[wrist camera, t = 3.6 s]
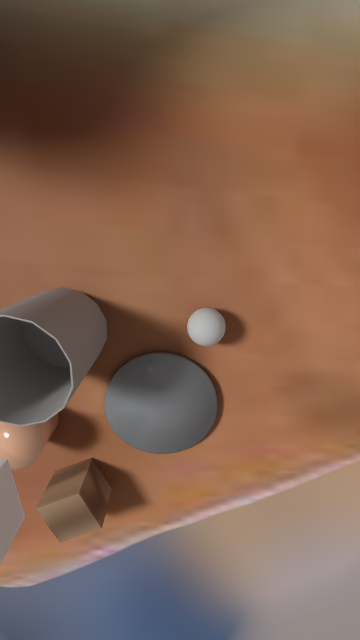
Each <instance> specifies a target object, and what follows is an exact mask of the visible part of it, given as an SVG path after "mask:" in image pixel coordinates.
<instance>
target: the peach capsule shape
mask: <svg viewBox="0 0 360 640" xmlns="http://www.w3.org/2000/svg"><path fill="white" fill-rule="evenodd" d="M58 422H59V415H58V413H57V414H55V415H54V416H53V417H51V418H50V419H49V420H47V421H46V422H43V423H37V424H32V425H26V426H21V427H20V426H15V425H11V424H6V423H1V422H0V459H8V461H9V464H10V468H11V469H23V468H26V467H28V466H30V465H31V464H33V463H34V461H35V460H36V459H37V457H38V455H39V454H40V452H41V451H42V449H43V448H44V446H45V444H46V443H47V441H48V440H49V438H50V437H51V435H52V433H53V432H54V430H55V429H56V427H57V425H58Z"/></svg>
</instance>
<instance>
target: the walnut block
mask: <svg viewBox="0 0 360 640" xmlns="http://www.w3.org/2000/svg"><path fill="white" fill-rule="evenodd" d="M111 492H112V488H111V487H110V485H109V483H108V482H107V480H106V478H105V477H104V475H103V474H102V472H101V470H100V469H99V467H98V466H97V464H96V462H95V461H94V459H93V458H90V459H88V460H85V461H82V462H79V463H77V464H74V465H71V466H69V467H66V468H63V469H60V470H58V471H55V473H54V474H53V476H52V478H51V480H50V482H49V484H48V486H47V488H46V490H45V492H44V494H43V495H42V497H41V499H40V501H39V503H38V505H37V507H36V510H37V512H38V513H39V514H40V516H41V517H42V518H43V520H44V521H45V523H46V524H47V525H48V527H49V528H50V529H51V531H52V532H53V533H54V535H55V536H56V538H57V539H58V540H59V542H63V541H66V540H69V539H72V538H75V537H78V536H81V535H84V534H87V533H90V532H93V531H96V530H99V529H102V526H103V522H104V518H105V514H106V511H107V507H108V503H109V499H110V496H111Z"/></svg>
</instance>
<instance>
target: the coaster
mask: <svg viewBox="0 0 360 640" xmlns="http://www.w3.org/2000/svg"><path fill="white" fill-rule="evenodd" d="M104 404H105V412H106V416H107V419H108V422H109V424H110V426H111V427H112V429H113V430H114V432H115V433H116V434H117V435H118V436H119V437H120V438H121V439H122V440H123V441H124V442H126V443H127V444H129V445H130V446H132V447H134V448H136V449H139V450H141V451H144V452H149V453H155V454H170V453H176V452H180V451H183V450H186V449H188V448H190V447H192V446H193V445H195V444H197V443H198V442H199V441H200V440H202V439H203V438H204V437H205V436H206V435H207V433H208V432H209V431H210V429H211V428H212V426H213V424H214V421H215V418H216V415H217V406H218V403H217V396H216V392H215V388H214V385H213V383H212V381H211V379H210V377H209V376H208V374H207V373H206V372H205V371H204V370H203V369H202V368H201V367H200V366H199V365H198V364H197V363H195V362H194V361H192V360H190V359H189V358H187V357H184V356H182V355H179V354H175V353H170V352H151V353H146V354H142V355H139V356H137V357H135V358H133V359H131V360H129V361H128V362H126V363H125V364H123V365H122V366H121V367H120V368H119V369H118V370H117V372H116V373H115V374H114V376H113V377H112V379H111V381H110V383H109V385H108V388H107V390H106V395H105V403H104Z"/></svg>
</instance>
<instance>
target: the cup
mask: <svg viewBox="0 0 360 640" xmlns="http://www.w3.org/2000/svg"><path fill="white" fill-rule="evenodd" d="M106 340H107V320H106V319H105V317H104V315H103V313H102V311H101V309H100V308H99V306H98V304H97V303H96V302H94V301H93V300H92V299H90V298H89V297H88V296H87V295H85V294H84V293H83V292H81V291H76V290H72V289H68V288H64V287H60V288H56V289H51V290H46V291H43V292H40V293H38V294H36V295H33V296H31V297H29V298H26V299H24V300H22V301H19V302H17V303H15V304H12V305H10V306H8V307H5V308H3V309H1V310H0V422H1V423H6V424H11V425H15V426H20V427H21V426H26V425H32V424H37V423H43V422H46V421H47V420H49V419H50V418H51V417H53V416H54V415H55V414H57V413H58V412H59V411H61V410H62V409H64V407H65V406H66V404H67V403H68V401H69V400H70V398H71V397H72V395H73V394H74V392H75V391H76V389H77V388H78V386H79V385H80V383H81V382H82V380H83V379H84V377H85V376H86V374H87V373H88V371H89V370H90V368H91V367H92V365H93V364H94V362H95V361H96V359H97V358H98V356H99V355H100V353H101V351H102V349H103V347H104V344H105V342H106Z"/></svg>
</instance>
